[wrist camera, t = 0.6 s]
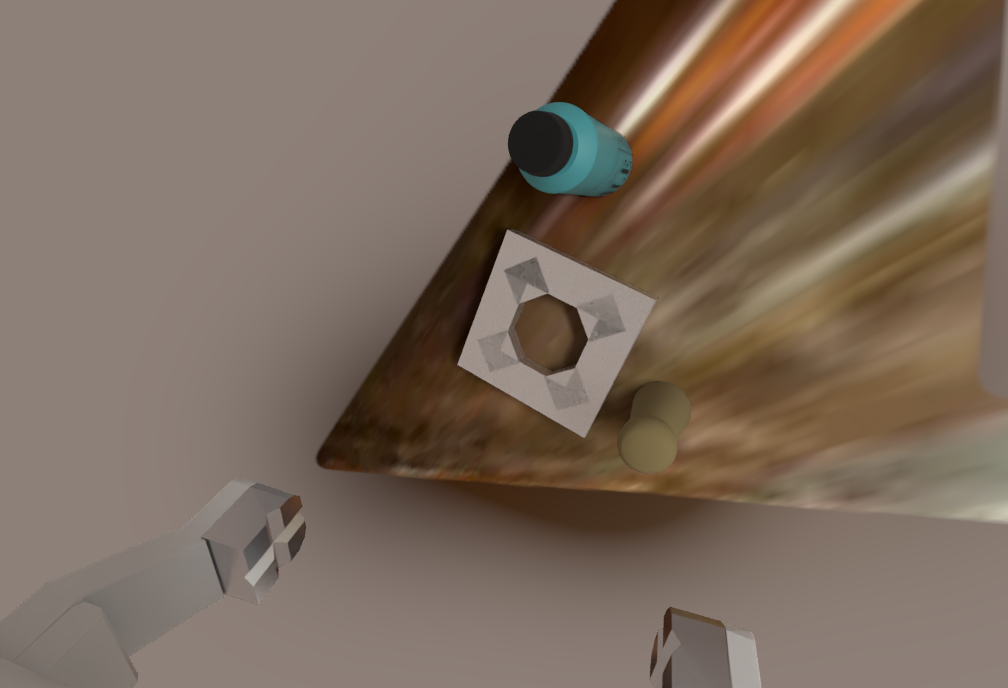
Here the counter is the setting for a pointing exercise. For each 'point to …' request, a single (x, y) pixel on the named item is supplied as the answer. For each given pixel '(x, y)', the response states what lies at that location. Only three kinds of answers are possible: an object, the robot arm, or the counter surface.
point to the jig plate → (603, 311)
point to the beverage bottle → (569, 152)
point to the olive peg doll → (654, 427)
